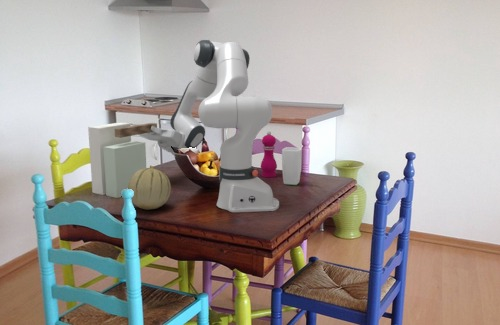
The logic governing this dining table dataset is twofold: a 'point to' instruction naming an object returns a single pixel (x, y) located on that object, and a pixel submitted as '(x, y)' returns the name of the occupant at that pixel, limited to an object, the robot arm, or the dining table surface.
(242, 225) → the dining table surface
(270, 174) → the pepper mill
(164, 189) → the cantaloupe
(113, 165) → the pale green block
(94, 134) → the tall stand
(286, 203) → the dining table surface
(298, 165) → the cup
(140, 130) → the walnut bar
